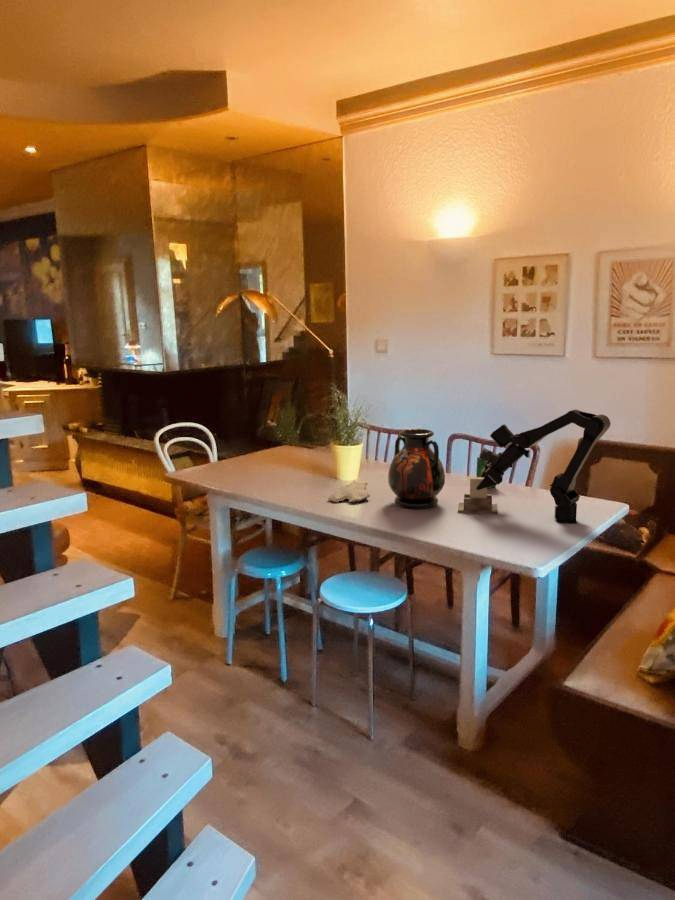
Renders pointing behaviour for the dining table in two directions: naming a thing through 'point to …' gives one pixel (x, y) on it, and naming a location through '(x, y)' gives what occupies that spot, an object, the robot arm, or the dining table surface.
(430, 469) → the amphora vase
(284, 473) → the dining table surface
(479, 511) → the slot rack
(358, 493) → the rock
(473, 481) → the tan rectangular block
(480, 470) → the coffee box
